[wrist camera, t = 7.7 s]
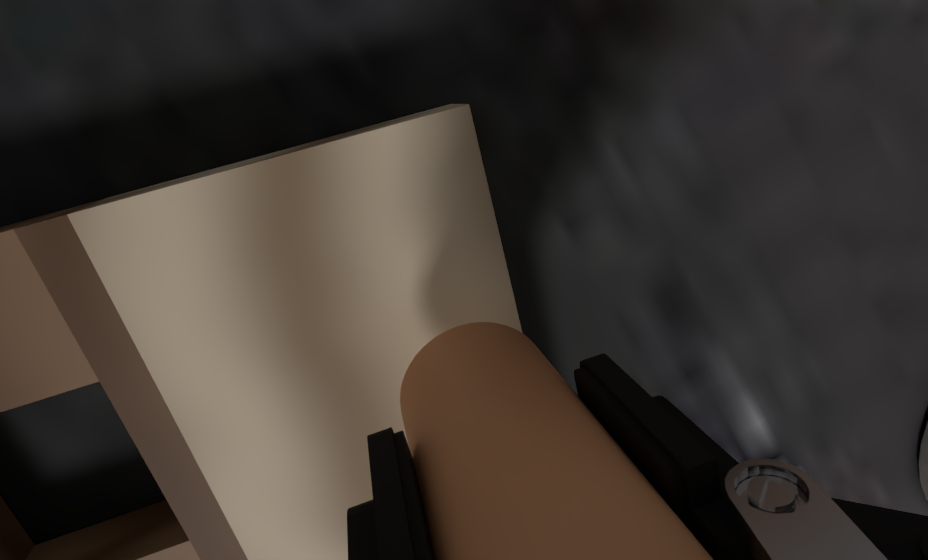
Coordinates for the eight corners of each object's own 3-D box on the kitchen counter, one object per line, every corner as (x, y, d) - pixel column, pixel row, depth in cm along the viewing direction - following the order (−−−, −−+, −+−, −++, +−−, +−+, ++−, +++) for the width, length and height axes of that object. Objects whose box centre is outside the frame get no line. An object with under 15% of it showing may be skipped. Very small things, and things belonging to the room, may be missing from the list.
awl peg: (531, 301, 14) (935, 707, 5) (560, 428, 15) (911, 936, 6) (379, 351, 13) (482, 923, 4) (423, 478, 15) (574, 1118, 5)
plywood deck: (450, 103, 16) (469, 103, 14) (539, 468, 21) (564, 513, 19) (-296, 307, 14) (-423, 348, 12) (1, 667, 19) (-46, 747, 16)
